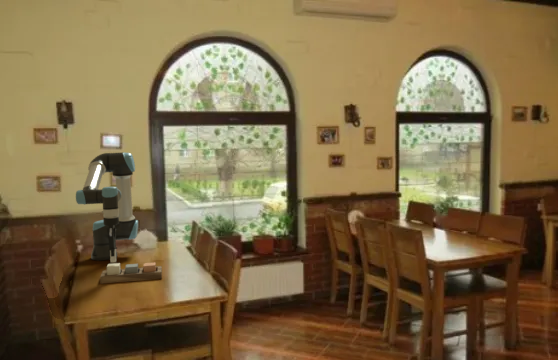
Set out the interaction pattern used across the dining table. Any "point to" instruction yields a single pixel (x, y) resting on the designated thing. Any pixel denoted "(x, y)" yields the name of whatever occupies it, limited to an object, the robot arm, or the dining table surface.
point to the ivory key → (113, 269)
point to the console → (131, 276)
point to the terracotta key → (149, 267)
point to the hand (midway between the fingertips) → (113, 262)
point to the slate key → (131, 268)
